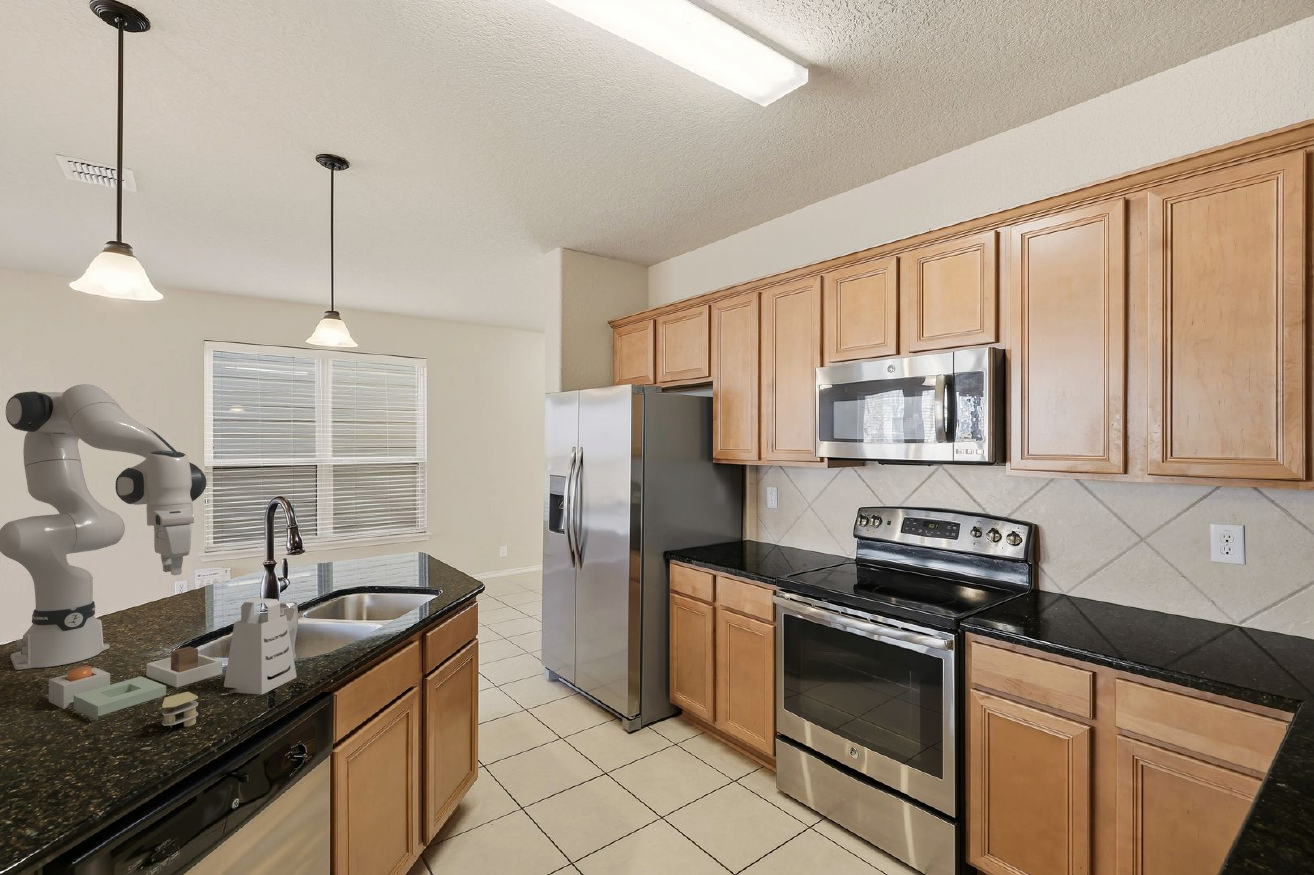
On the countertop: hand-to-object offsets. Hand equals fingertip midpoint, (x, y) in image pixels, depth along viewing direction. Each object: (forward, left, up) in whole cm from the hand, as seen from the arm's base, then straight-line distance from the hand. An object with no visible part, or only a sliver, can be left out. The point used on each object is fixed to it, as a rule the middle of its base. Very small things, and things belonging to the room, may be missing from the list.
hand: (172, 573), depth 148 cm
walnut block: (+2, +2, -25) cm, 25 cm away
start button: (-6, -15, -23) cm, 28 cm away
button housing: (-6, -15, -26) cm, 31 cm away
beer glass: (+12, +20, -26) cm, 35 cm away
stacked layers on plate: (+29, -11, -27) cm, 41 cm away
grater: (+22, +9, -26) cm, 35 cm away
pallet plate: (+6, -12, -26) cm, 29 cm away
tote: (+2, +2, -26) cm, 26 cm away
